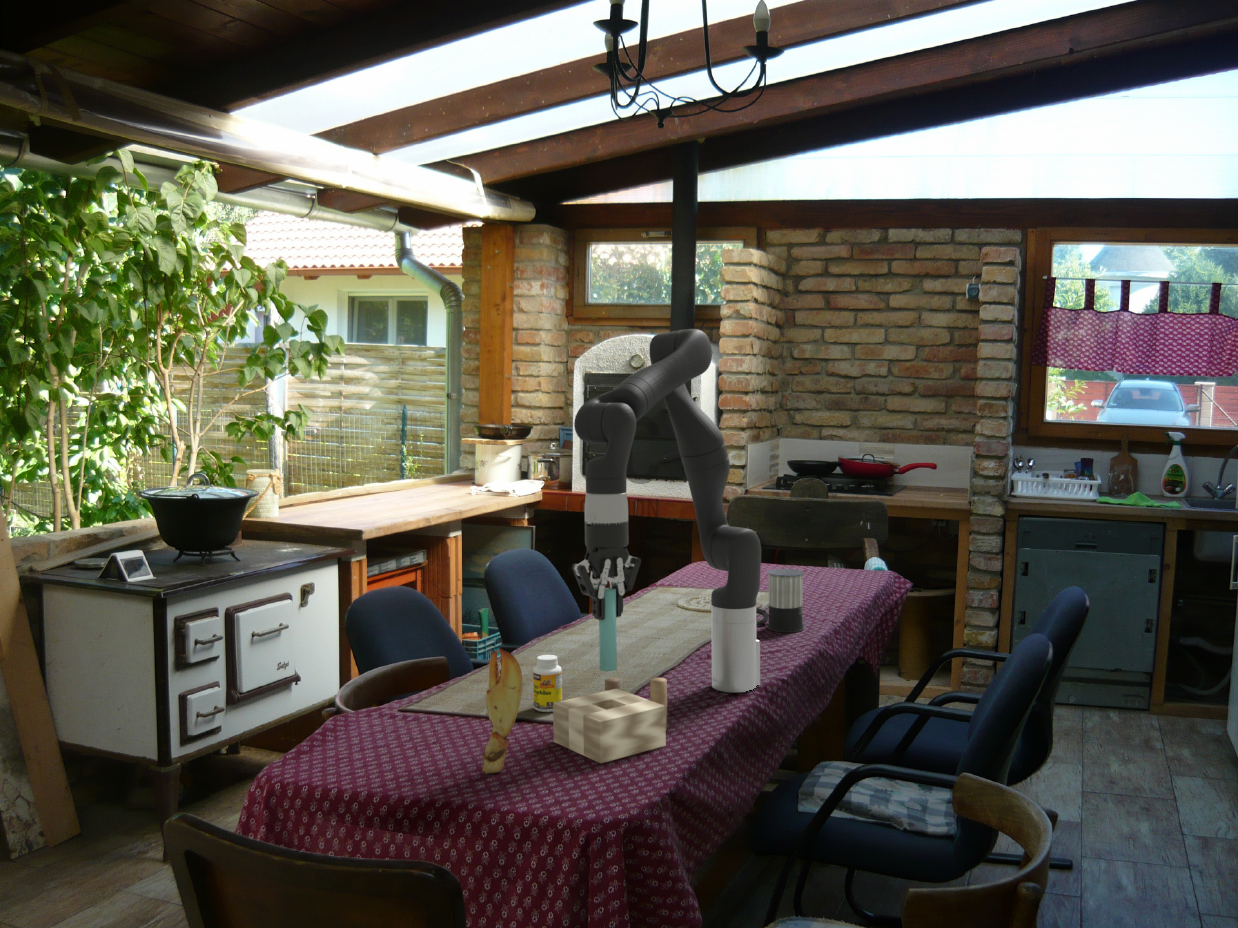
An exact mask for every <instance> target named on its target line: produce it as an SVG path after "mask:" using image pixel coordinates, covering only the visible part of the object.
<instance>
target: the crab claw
mask: <svg viewBox="0 0 1238 928" xmlns="http://www.w3.org/2000/svg"><path fill="white" fill-rule="evenodd" d="M498 653H500V657H501V658H500V660H499V663H500V664H499V663H498ZM499 667H500V668H501V669H499ZM488 669H489V671H488V674H489V675H488V690H486V696H485V700H486V710H487V712H486V715H487V716H488V717H489V718H488V720H489V721H490V722H491V723H492V726H493V729H491V730H490V738H489V741H488V743H487V744H486V746H484V747H483V748H484V751H483V753H482V760H483V764H482V768H481V770H482V772H483V773H484V775H487V774H496V773H500V772H502V771H503V769H504V766H505V761H506V755H507V751H508V748H507V747H508V745H509V743H510V741H509V738H508V737H509V735H510V733H511V732H512V729H513V727H514V725H515V723H516V719H517V715H518V712H519V707H520V704H521V700H522V693H523V673H522V669H521V666H520V663H519V662H518V660H517V658H516V657H515V656H514V655H513V654H512V653H511V652H509V650H505V649H503V648H498V649H497V650H494V651H492V653H491V655H490V660H489V667H488Z"/></svg>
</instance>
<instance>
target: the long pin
mask: <svg viewBox="0 0 1238 928" xmlns="http://www.w3.org/2000/svg"><path fill="white" fill-rule="evenodd" d="M603 598H604V599H605V619H604V620H598V625H599V626H598V628H599V629H598V633H599V634H598V636H599V637H598V639H599V642H598V643H599V647H598V649H599V653H598V654H599V670H600V671H602V672H615V671H617V670H618V653H617V652H618V651H617V650H618V649H617V647H618V645H617V644H618V642H617V617H616V589H615V588H610V587H605V590H604V597H603Z"/></svg>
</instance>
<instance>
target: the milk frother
mask: <svg viewBox="0 0 1238 928" xmlns="http://www.w3.org/2000/svg"><path fill="white" fill-rule="evenodd" d="M766 573H767V574H768V612H767V611H766V610H764V609H762V608H757V607H756V615H757V614H758V615H760V616H762V617H763V618H762V619H760V620H756V627H758V626H762V625H764V624H766V623H767V622H768V625H767V629H768V630H770V631H771V632H777V633H789V634H790V633H797V632H801V631H803V630H804V629H805V627H804V618H803V609H804V608H803V575H804V571H802V570H799V569H793V568H792V569H791V568H777V569H771V570H768V571H767V572H766Z"/></svg>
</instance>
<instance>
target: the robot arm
mask: <svg viewBox="0 0 1238 928" xmlns="http://www.w3.org/2000/svg"><path fill="white" fill-rule="evenodd" d="M648 353H649V359H650V365H648V366H645V367H644V368H641V369H639V370H637V371H635V372H634V373H632V374H630V375H629V376H628V377H627V378H625V379H624V380H623V381H621V382H620V383H619V384H618V385H617V386H616V387H615V388H614V389H612V390H610V391H606V392H604V393H602V394H600V395H597V396H595V397H594V398H591V399H589V400H587V401H586V402H584V403H583V404H582V405H581V407H580V408H579V409H578V410H577V412H576V415H575V418H574V422H573V423H574V425H573V426H574V431H575V434H576V435H577V437H578V438H579V439H580V440H581V441H583V442H584V443H587V444H593V445H594V444H595V445H596V444H597V445H599V444H602V445H605V444H606V445H607V444H608V446H607V450H606V452H605V453H604V455H603V456H598V457H594V458H592V459H590V460H587V462H586V465H585V500H584V544H585V547H586V553H585V555H584V560H582V561H580V562H579V563H573V564H572V565H571V570H572V572H573V575H574V576H575V577H574V578H575V580H576V582H577V585H578V587H579V589H580V592H581V594H582V595H583V596H589V597H590V598H591V613H592V616H593V617H594V619H595V620H598V621H599V620H604V619H605V599H604V598H603V597H604V590H605V588H606V586H607V585H608V582H609V588H615V589H616V618H620V617H621V616H622V614H623V611H624V595H625V593H626V592H628V591H632V590H633V588H634V585H635V581H636V579H637V576H638V573H639V570H640V567H641V564H642V559H641V558H640V557H637V556H632V555H630V553H629V551H628V548H627V546H628V545H629V543H630V542H629V541H630V540H629V539H630V538H629V503H628V502H629V501H628V495H627V468H628V464H629V458H630V454H631V450H632V446H633V442H634V441H635V440H634V438H635V435H636V431H637V422H638V421H639V420H640V419H641V418H643V416H645V415H646V414H647V413H648V412H649V411H650V410H652V408H653V407H654V406H655V405H657V404H658V403H659V402H660V401H661V400H662V399H663V401H664V403H665V405H666V409H667V413H668V414H669V418H670V423H671V425H672V429H673V431H674V435H675V439H676V443H677V447H678V448H677V449H678V451H679V452H678V453H679V456H680V459H681V463H682V467H683V470H684V473H685V476H686V480H687V482H688V487H689V490H690V496H691V499H692V503H693V508H694V512H695V516H696V523H697V529H698V535H699V540H700V546H701V551H702V555H703V557H704V560H705V561H706V564H708V566H710V567H711V568H713V569H715V570H718V571H722V572H723V571H724V572H727V579H726V580H727V581H726V584H725V585H723V586H722V587H717V588H715V589H713V590H712V592H711V594H710V596H711V597H710V604H711V608H710V610H711V611H710V612H711V614H710V617H711V619H710V622H711V624H710V625H711V628H710V629H711V687H712V688H713V689H714V690H716V691H720V692H724V693H747V692H746V691H748V692H750V691H749V690H752V691H754V690H755V689H754V688H756V689H757V687H758V686H757V685H760V686H761V641H760V640H759V639H757V626H756V621H757V613H756V608H757V597H758V595H759V592H760V585H761V569H762V567H761V566H762V546H761V545H762V544H761V539H760V538H759V536H758V534H757V533H756V532H755V531H754V530H753V529H750V528H747V527H746V528H745V527H740V526H739V527H738V526H730V524H729V523H728V519H727V516H726V512H725V509H724V501H723V500H724V499H723V497H724V493H725V489H726V486H727V482H728V480H729V475H730V470H731V464H730V457H729V454H728V450H727V446H726V442H725V439H724V436H723V433H722V431H721V430H720V428H719V427H718V426H717V425H716V423H714V421H713V420H712V419H711V418H710V417H709V415H707V414H706V413H705V411H703V410H702V409H701V408H700V406H698V404H697V403H696V402H695V401H694V399H693V398H692V396H691V395H690V392H689V390H688V388H687V385H686V383H687V382H689V381H691V380H693V379H695V378H697V377H699V376H701V375H702V374H704V373H705V372H706V371H708V370H709V367H710V365H711V363H712V360H713V359H712V358H713V348H712V343H711V341H710V339H709V336H708V335H707V334H706V333H705V332H704V331H702V330H701V329H698V328H688V329H680V330H673V331H666V332H662V333H658V334H655V335H654V336H653V337H652V338H651V341H650V342H649V351H648ZM589 573H590V575H589ZM756 686H757V687H756ZM753 689H754V690H753Z"/></svg>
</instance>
